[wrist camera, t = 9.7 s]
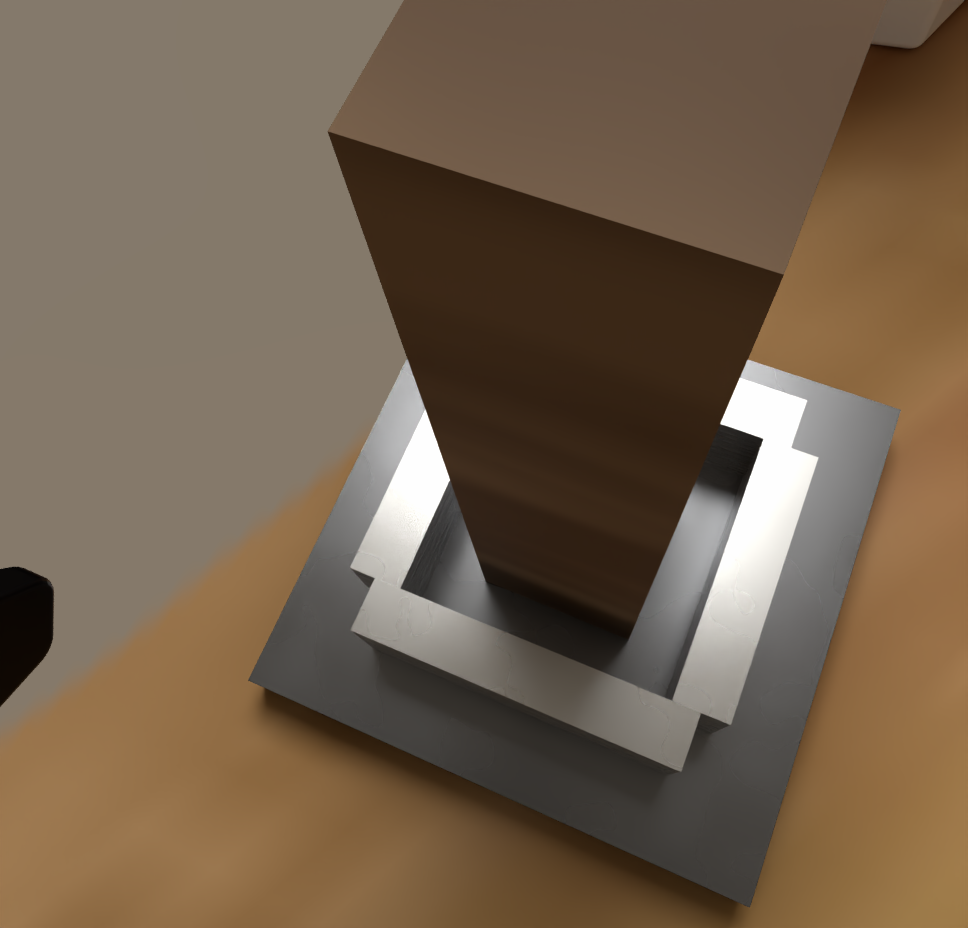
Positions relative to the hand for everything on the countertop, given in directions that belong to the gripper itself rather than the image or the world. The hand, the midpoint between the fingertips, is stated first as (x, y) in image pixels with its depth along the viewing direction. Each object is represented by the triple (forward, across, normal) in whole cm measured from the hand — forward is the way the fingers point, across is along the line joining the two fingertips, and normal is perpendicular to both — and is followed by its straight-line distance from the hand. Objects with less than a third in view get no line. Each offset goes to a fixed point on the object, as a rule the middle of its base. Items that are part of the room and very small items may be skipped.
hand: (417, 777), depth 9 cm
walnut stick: (+9, 0, +2) cm, 10 cm away
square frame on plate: (+10, 0, +3) cm, 10 cm away
